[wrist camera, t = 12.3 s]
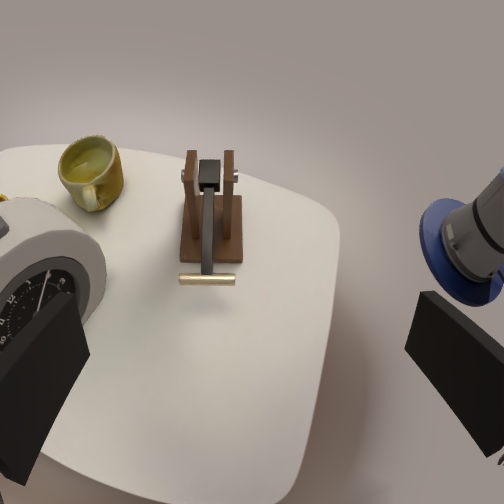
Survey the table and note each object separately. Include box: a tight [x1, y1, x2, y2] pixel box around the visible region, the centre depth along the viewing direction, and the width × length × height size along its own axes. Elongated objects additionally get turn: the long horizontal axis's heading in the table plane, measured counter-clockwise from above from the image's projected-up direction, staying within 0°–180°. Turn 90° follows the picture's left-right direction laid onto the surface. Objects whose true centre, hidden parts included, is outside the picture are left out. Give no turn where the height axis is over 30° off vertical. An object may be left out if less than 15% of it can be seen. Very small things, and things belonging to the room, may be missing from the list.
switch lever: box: [179, 160, 235, 286], centre depth 31 cm, size 13×6×2 cm, turn 3°
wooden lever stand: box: [180, 150, 243, 263], centre depth 36 cm, size 10×8×13 cm
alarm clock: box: [0, 197, 107, 353], centre depth 25 cm, size 21×8×20 cm, turn 149°
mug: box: [58, 135, 123, 212], centre depth 40 cm, size 12×10×10 cm
